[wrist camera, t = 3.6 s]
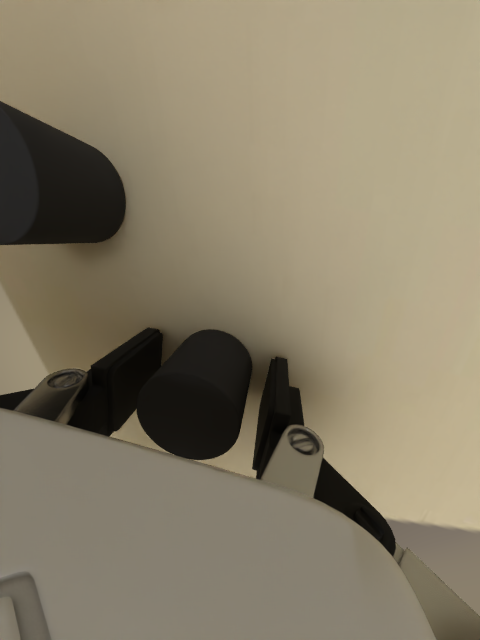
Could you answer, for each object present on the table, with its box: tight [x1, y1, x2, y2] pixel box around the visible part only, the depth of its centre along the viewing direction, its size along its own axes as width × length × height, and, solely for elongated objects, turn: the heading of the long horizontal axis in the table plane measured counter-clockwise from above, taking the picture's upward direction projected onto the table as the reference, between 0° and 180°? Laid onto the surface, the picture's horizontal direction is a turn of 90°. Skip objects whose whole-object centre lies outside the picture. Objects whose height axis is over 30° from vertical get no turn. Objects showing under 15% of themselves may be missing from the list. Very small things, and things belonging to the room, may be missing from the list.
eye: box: [136, 330, 252, 460], centre depth 10 cm, size 4×4×4 cm
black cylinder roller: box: [0, 101, 125, 245], centre depth 8 cm, size 4×4×4 cm
